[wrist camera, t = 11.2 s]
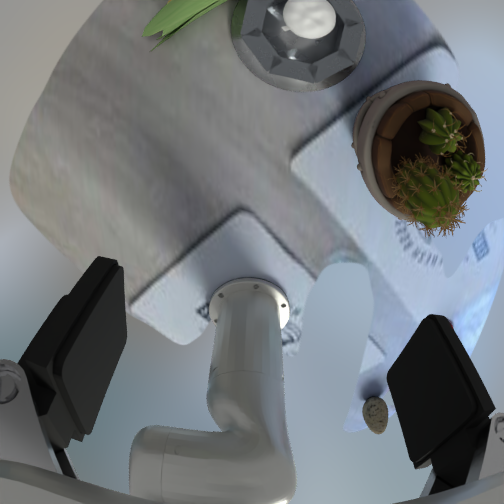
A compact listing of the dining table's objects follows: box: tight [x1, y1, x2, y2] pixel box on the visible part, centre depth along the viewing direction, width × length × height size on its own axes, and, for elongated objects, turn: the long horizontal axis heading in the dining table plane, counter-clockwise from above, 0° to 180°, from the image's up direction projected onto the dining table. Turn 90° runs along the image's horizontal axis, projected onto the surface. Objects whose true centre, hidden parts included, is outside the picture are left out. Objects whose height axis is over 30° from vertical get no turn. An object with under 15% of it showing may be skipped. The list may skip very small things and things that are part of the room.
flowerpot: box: [351, 80, 486, 237], centre depth 26 cm, size 14×15×20 cm
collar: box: [231, 0, 366, 92], centre depth 27 cm, size 15×15×4 cm
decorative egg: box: [362, 397, 388, 434], centre depth 61 cm, size 6×6×10 cm
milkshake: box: [281, 0, 336, 40], centre depth 23 cm, size 4×5×10 cm
